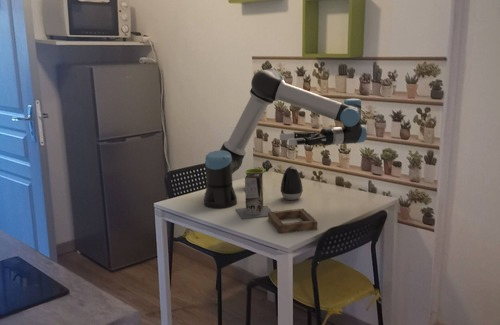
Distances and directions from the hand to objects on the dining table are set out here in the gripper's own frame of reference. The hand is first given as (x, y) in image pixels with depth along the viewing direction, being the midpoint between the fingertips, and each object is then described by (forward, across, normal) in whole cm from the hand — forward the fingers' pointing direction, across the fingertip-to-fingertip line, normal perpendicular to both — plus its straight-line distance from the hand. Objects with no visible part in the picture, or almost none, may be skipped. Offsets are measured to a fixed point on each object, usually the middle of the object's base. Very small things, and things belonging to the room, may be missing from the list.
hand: (284, 139), depth 212 cm
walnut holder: (+4, -22, -30) cm, 37 cm away
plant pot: (+6, +35, -30) cm, 47 cm away
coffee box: (+15, -4, -30) cm, 33 cm away
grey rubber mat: (+15, -4, -30) cm, 34 cm away
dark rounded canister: (-6, +11, -30) cm, 33 cm away
